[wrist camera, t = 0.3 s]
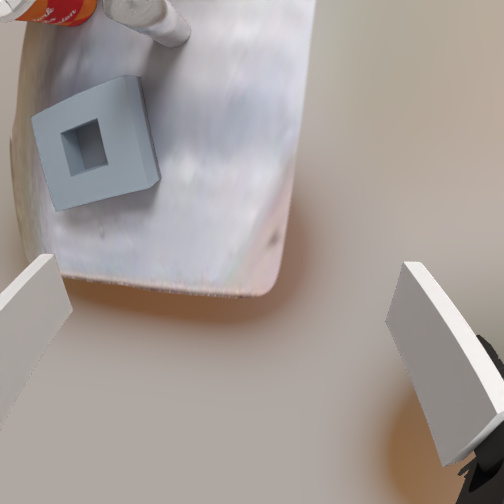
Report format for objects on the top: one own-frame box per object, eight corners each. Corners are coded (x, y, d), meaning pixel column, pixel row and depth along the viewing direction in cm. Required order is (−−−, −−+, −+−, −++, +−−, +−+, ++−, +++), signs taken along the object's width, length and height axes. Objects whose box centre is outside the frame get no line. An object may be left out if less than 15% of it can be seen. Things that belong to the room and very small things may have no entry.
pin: (155, 23, 26) (101, -12, 14) (188, 13, 26) (149, -31, 13) (160, 51, 28) (105, 27, 16) (193, 42, 28) (154, 9, 15)
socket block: (51, 113, 31) (30, 117, 27) (139, 77, 29) (124, 74, 25) (73, 200, 37) (56, 212, 33) (161, 178, 35) (149, 188, 31)
